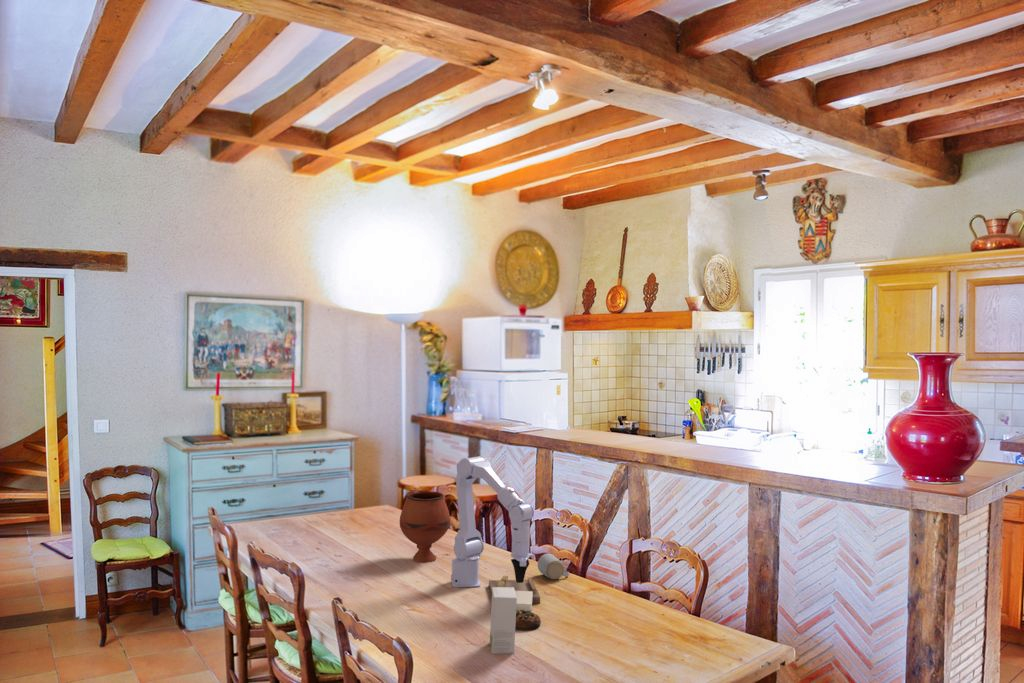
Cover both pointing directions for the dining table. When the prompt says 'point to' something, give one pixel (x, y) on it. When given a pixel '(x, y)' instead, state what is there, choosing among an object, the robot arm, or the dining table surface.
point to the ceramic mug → (551, 567)
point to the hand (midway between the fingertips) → (519, 582)
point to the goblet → (424, 522)
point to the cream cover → (524, 600)
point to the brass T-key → (503, 581)
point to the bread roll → (527, 620)
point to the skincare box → (503, 620)
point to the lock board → (519, 587)
